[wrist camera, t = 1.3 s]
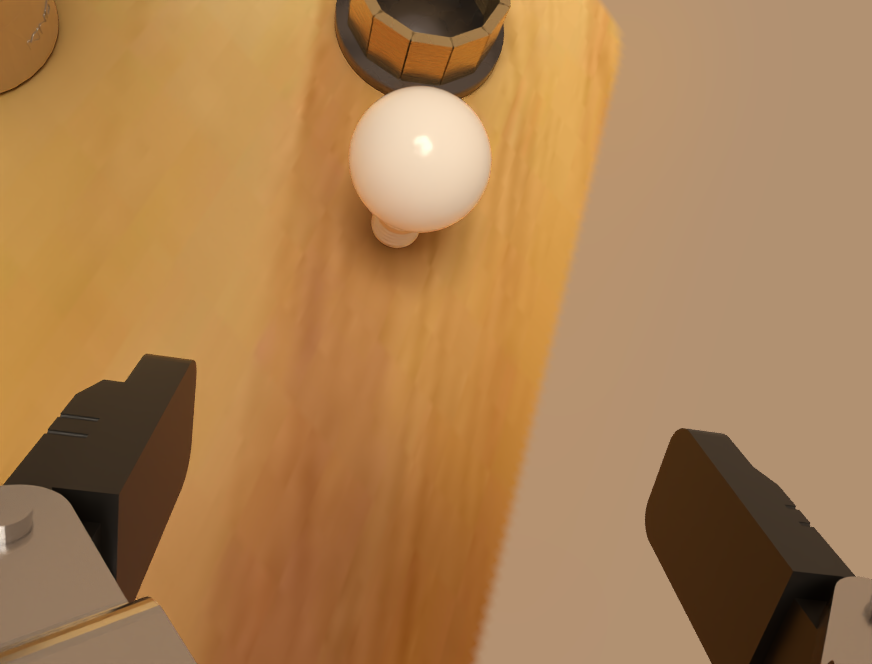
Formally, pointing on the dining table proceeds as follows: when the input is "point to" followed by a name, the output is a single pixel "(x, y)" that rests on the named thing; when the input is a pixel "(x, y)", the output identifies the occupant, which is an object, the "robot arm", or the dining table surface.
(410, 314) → the dining table surface
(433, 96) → the lightbulb
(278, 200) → the dining table surface
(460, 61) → the bulb holder
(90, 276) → the dining table surface
